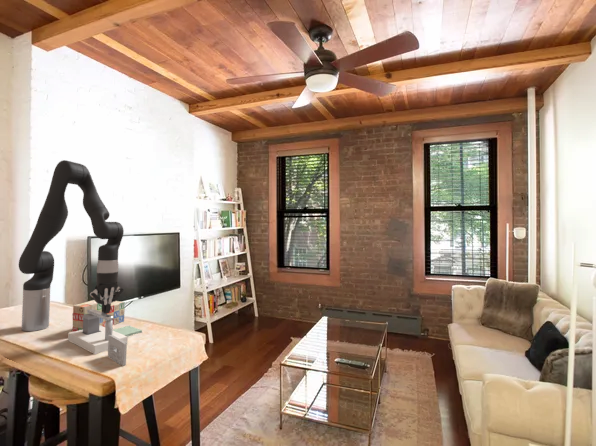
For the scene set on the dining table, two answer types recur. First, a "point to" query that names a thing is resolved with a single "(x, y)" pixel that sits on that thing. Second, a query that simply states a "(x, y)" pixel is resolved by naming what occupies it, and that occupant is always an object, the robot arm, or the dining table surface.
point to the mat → (128, 330)
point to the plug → (90, 324)
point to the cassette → (117, 350)
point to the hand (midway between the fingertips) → (105, 313)
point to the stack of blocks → (82, 308)
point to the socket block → (96, 338)
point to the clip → (100, 314)
